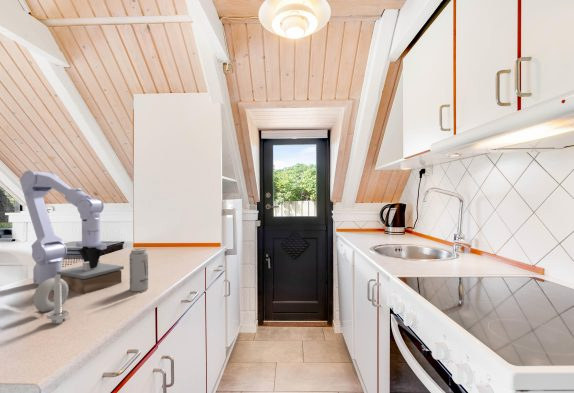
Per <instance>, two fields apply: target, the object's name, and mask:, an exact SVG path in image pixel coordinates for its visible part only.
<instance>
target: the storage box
mask: <svg viewBox="0 0 574 393" xmlns="http://www.w3.org/2000/svg"><path fill="white" fill-rule="evenodd" d="M60 279H63V280H64V281H65V282H66V283H67V285H68V289H69V291H70V292H74V293H79V294H88V293H92V292H95V291H98V290H101V289H105V288H108V287H112V286H115V285H118V284H122V270H118V271H114V272H110V273H107V274H103V275H99V276H96V277H90V278H88V279H87V278H86V279H81V278H75V277H69V276H64V275H60ZM69 291H68V292H69Z"/></svg>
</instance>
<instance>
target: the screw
mask: <svg viewBox="0 0 574 393" xmlns="http://www.w3.org/2000/svg"><path fill="white" fill-rule="evenodd" d="M61 286H62V285H61V280H60V275H56V276H55V285H54V287H53V288H54V289H53V298H52V299H54V300H53V301H54V310H53V311H52V312H50V313H49V314H48V315H46V319H47V320H51V324H52V325H58V324H61V323H64V321H65V319H64V318H65V317H67V316H69V315H70V313H69V311H68V310H62V309H63V305H62V304H61V303H62V302H61V301H62V300H61V299H62V298H61V297H62V295H61V294H62V293H61V292H62V291H61V290H62V289H61V288H62V287H61ZM61 305H62V306H61Z"/></svg>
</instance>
